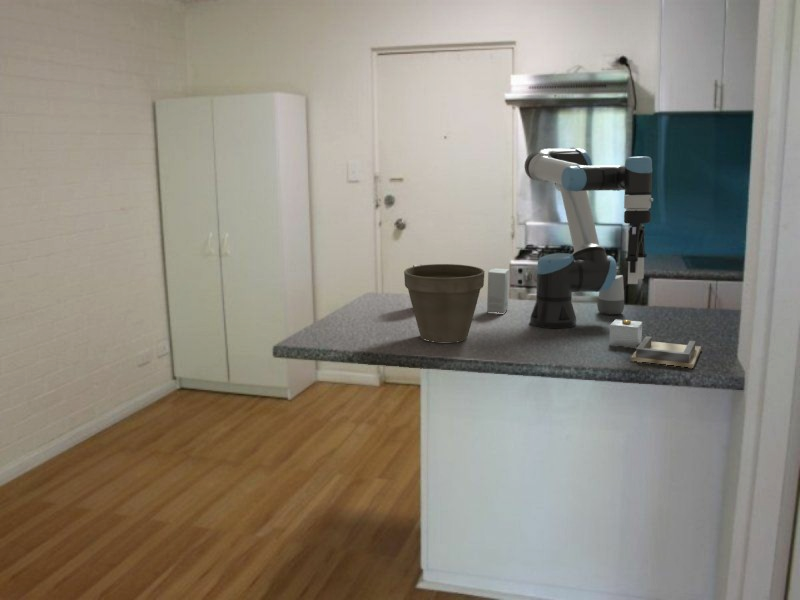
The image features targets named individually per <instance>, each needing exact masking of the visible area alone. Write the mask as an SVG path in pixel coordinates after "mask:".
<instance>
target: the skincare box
mask: <svg viewBox="0 0 800 600" xmlns="http://www.w3.org/2000/svg"><path fill="white" fill-rule="evenodd" d="M509 282H510V268H497V267H495V268H491V269H490V270H489V271H488V273H487V297H486V298H487V301H486V302H487V303H486V306H487V307H486V313H487V312H497V313H498V312H499V313H504V312H505V311H506V310H507V309H508V310H509V288H510V287H509V286H510V285H509ZM508 310H507V311H508Z"/></svg>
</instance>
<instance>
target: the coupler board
mask: <svg viewBox="0 0 800 600" xmlns="http://www.w3.org/2000/svg"><path fill="white" fill-rule="evenodd" d="M696 343H697V342H696V340H689V341H688V343H687V344H679V343H671V342H670V343H669V342H660V341H652V336H647V335H646V336H645V337H644V338H643V339H642V340H641V343H640V345H639V346H638V347H637V348H635V349H636V350H635V351H634V352H633V354H632V355H631V356H630V362H634V361H637V363H642V362H649V363H648V364H650V363H657V364H656V365H659V364H666V365H665V366H667V365H674V366H673V367H676V366H681V367H680V368H684V367H688V368H687V369H692V368H693V369H694V367H695V365H696V363H697V360H698V358H699V356H700V353H701V351H702V346H698V345H696Z"/></svg>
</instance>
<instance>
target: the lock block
mask: <svg viewBox="0 0 800 600" xmlns="http://www.w3.org/2000/svg"><path fill="white" fill-rule="evenodd" d="M643 324H644V323H643V321H638V320H630V319H614V321H612V322H611V323H610V325H609V338H608V339H609V340H608V346H609V345H615V346H614V347H618V346H624V347H623V348H627V347H631V348H630V349H636V348H637V347H638V346H639V344H640V343H641V342H642V341H643V339H642V338H643V337H642V336H643Z"/></svg>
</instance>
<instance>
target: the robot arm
mask: <svg viewBox="0 0 800 600" xmlns="http://www.w3.org/2000/svg"><path fill="white" fill-rule="evenodd" d="M524 172H525V174H526V175H527V176H528V177H529V178H530V179H531V180H533V181H536V182H547V183H548V182H549V183H550V182H551V183H553V184H554V186H555V189H556V190H557V191H559V192H560V194H561V197H562V199H561V200H562V203H563V207H564V210H565V211H564V212H565V216H566V220H567V221H566V222H567V225H568V229H569V230H568V231H569V234H570V238H571V242H572V247H573V252H572V253H566V252H563V253H558V252H557V253H551V254H547V255H543V256H542V257H540V258H539V259H538V261H537V265H536V266H537V267H536V270H535V271H536V295H535V296H536V298H535V303H534V306H533V308H532V311H531V314H530V317H529V319H530V322H531V323H530V324H531V325H532V324H533V325H532V326H535V325H536V327H539V326H540V328H545V327H546V329H547V328H548V329H567V328H572V327H575V326H576V325H577V316H576V312H575V309H574V305H573V303H572V294H573V293H582V292H583V293H584V292H585V293H586V292H599V291H602V290H607V289H609V288H610V287H611V286H612V285H613V283H614V281H615V278H616V276H617V267H618V266H617V262H616V259H615V258H614V257H613V256H612V255H608V254H607V253H606V249H605V247H603V246H601V245H600V241H599V237H598V233H597V229H596V226H595V221H594V216H593V212H592V209H591V204H590V199H589V196H588V191H590V192H591V191H614V192H615V191H624V201H623V204H624V205H623V208H624V209H625V210H624V211H623V213H624V214H623V222H624V224H631V226H630V227H629V229H628V230H629V231H628V233H629V238H628V246H627V248H628V249H627V257H625V262H627V263H628V264H627V285H639V284H638V283H639V281H638V280H643V279H644V278H645V276H644V275H645V273H644V272H645V258H647V253H646V250H645V249H646V248H645V247H646V246H645V234H646V233H645V232H646V230H645V225H643V224H650V223H651V219H652V218H651V217H652V211H651V210H649V209H651V208H652V202H654V198H653V197H652V186H653V185H652V184H653V160H652V158H651V156H630V157H627V158H626V159H625V163H624V164H619V165H617V164H616V165H613V164H612V165H593V162H592V159H591V157H590V155H589V153H588V152H587V151H586V150H585V149H583V148H578V147H569V148H568V147H565V148H564V147H563V148H559V147H558V148H557V147H556V148H553V147H552V148H548V147H546V148H545V147H544V148H539V149H536V150H534V151H532V152H531V153H530V154H529V155H528V156H527V157H526V159H525V162H524Z"/></svg>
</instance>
